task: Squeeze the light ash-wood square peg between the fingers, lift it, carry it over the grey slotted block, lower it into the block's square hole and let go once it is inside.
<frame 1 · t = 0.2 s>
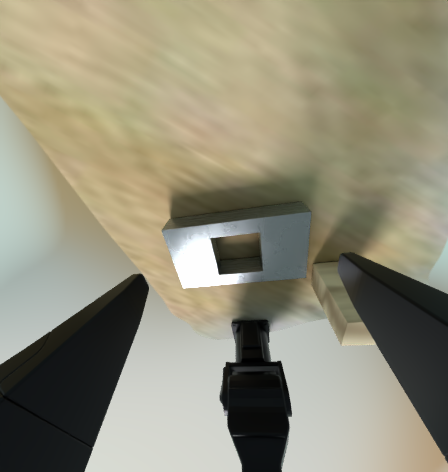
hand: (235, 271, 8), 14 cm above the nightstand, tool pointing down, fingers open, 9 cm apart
grey slotted block: (237, 241, 24), on the nightstand
ash peg: (326, 273, 26), on the nightstand
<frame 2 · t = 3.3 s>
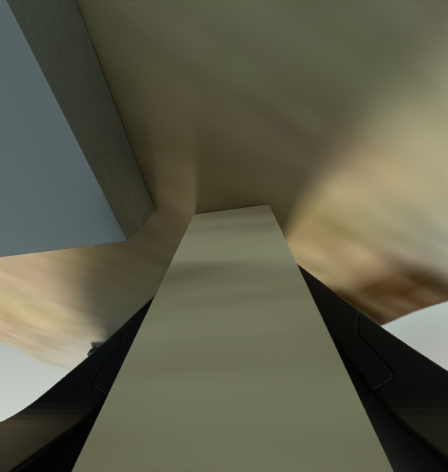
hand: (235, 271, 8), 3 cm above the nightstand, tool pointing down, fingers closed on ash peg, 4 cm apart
ash peg: (235, 241, 11), on the nightstand, touching gripper
when the fingers open (4 cm above the nightstand, at t = 8.2 s): ash peg drops 2 cm, resting in grey slotted block.
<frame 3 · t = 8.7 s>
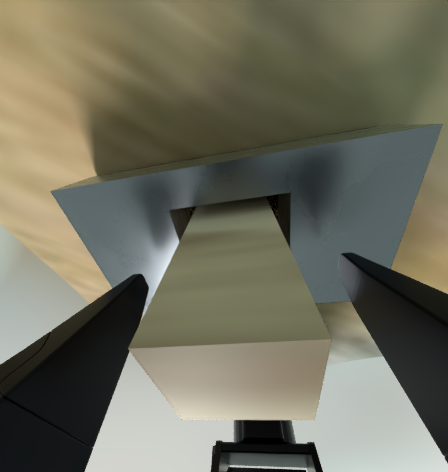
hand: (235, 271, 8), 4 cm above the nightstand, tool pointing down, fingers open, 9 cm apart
grey slotted block: (235, 225, 12), on the nightstand
ash peg: (235, 225, 12), resting in grey slotted block
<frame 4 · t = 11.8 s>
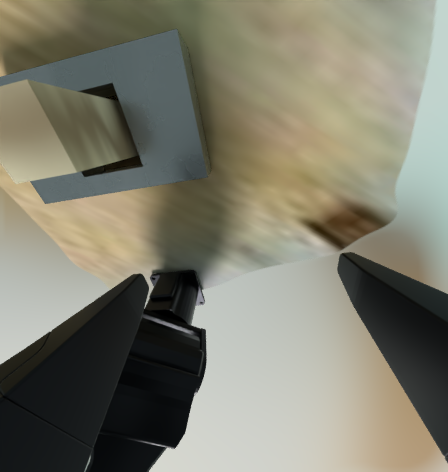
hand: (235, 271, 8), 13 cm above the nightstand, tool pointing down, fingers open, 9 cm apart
grey slotted block: (117, 134, 17), on the nightstand
ash peg: (117, 134, 17), resting in grey slotted block
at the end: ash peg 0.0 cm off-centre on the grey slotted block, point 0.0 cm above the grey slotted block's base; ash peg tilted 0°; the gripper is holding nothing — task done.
